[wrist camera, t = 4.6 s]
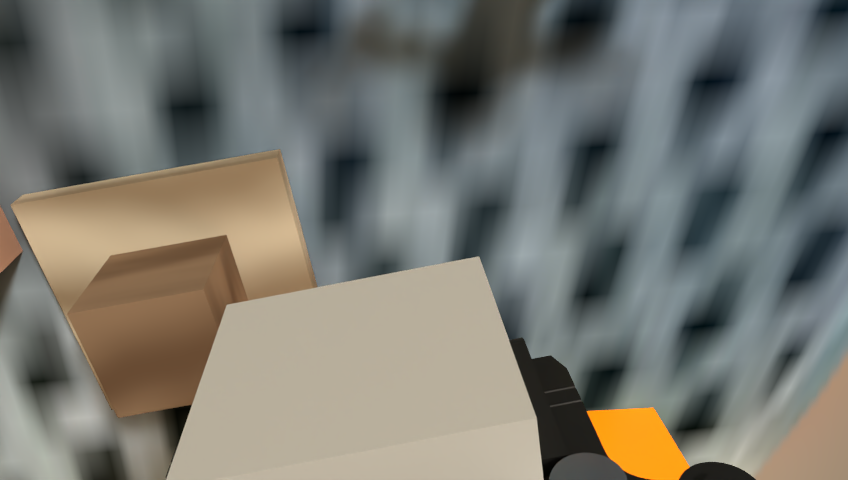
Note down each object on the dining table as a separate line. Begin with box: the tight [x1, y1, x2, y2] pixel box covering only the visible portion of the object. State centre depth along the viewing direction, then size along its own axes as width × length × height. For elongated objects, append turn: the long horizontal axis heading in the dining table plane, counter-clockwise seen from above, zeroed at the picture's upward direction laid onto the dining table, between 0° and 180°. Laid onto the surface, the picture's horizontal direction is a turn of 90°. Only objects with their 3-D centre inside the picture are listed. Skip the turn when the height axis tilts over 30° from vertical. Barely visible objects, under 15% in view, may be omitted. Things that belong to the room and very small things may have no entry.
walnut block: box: [67, 235, 248, 418], centre depth 29 cm, size 6×6×5 cm
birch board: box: [11, 149, 317, 410], centre depth 32 cm, size 12×12×1 cm
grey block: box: [166, 257, 544, 480], centre depth 13 cm, size 6×6×5 cm
